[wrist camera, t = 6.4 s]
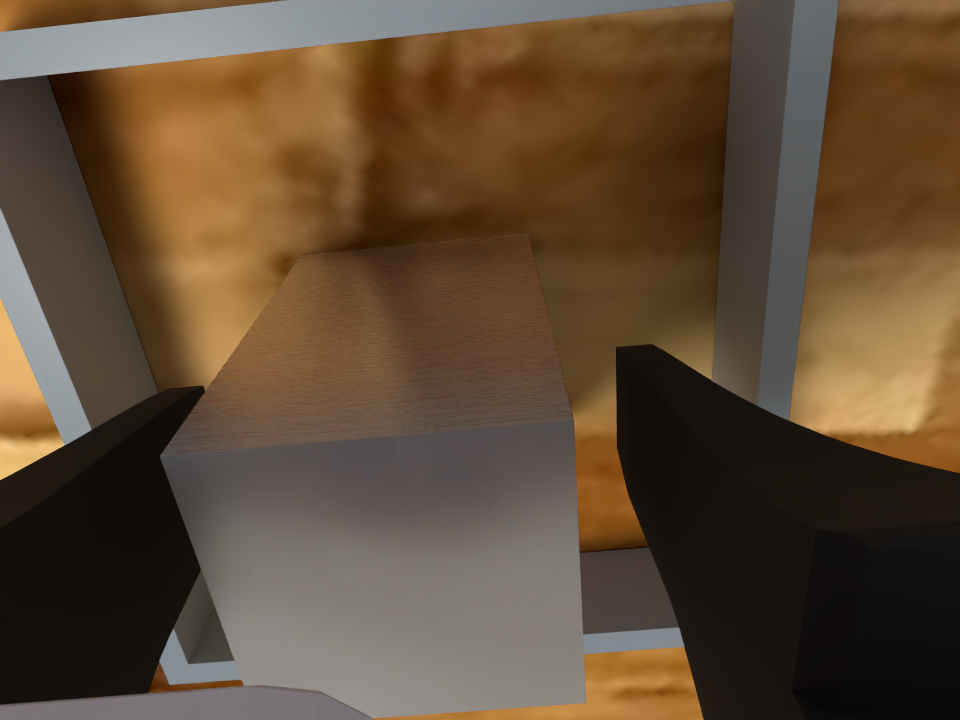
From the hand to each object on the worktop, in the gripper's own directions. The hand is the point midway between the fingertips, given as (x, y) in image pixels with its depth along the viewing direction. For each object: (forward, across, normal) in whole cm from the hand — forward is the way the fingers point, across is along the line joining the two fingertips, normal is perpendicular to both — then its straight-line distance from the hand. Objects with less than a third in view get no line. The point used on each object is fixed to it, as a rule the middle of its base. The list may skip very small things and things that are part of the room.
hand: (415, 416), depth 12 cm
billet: (+3, 0, 0) cm, 3 cm away
